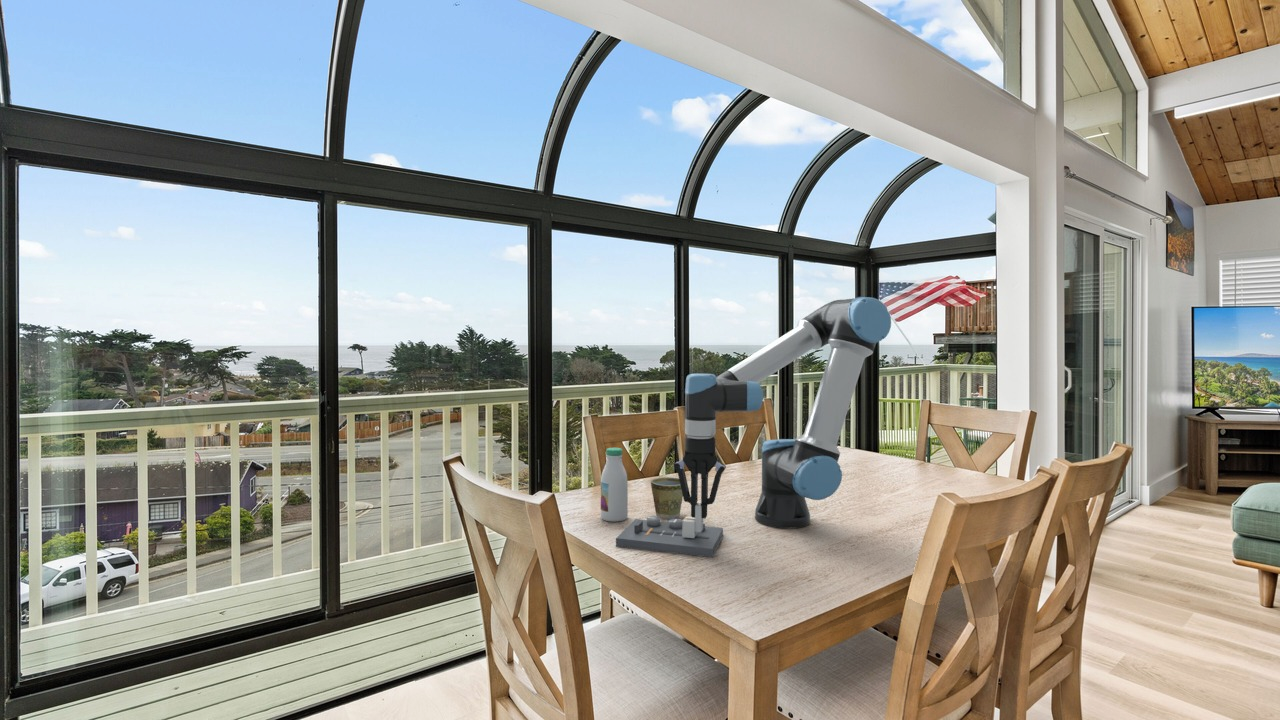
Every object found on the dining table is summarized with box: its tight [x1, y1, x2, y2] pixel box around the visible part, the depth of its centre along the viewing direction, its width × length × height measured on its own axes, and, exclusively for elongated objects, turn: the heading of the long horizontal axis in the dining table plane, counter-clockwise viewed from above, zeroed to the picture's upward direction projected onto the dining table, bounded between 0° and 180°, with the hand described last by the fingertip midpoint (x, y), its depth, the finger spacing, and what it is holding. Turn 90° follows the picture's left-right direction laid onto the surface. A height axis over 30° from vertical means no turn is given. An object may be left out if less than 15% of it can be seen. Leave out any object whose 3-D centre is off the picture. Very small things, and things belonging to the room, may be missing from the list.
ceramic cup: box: [650, 476, 683, 520], centre depth 171 cm, size 13×10×10 cm
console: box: [615, 516, 724, 558], centre depth 148 cm, size 24×16×4 cm, turn 73°
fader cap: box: [682, 516, 698, 538], centre depth 145 cm, size 3×4×4 cm
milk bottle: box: [600, 447, 629, 523], centre depth 166 cm, size 8×8×20 cm
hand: (698, 530), depth 145 cm, fingers closed
